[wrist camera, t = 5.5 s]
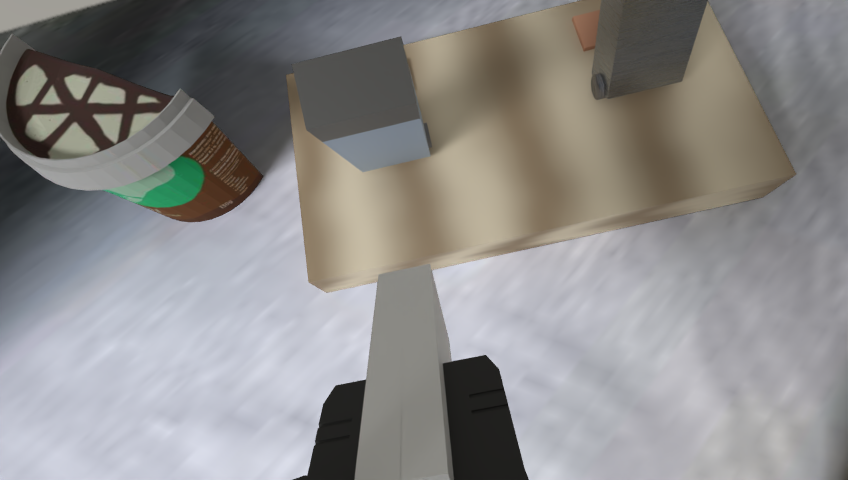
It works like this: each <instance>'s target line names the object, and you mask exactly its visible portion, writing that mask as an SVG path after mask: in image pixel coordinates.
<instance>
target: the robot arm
mask: <svg viewBox="0 0 848 480" xmlns="http://www.w3.org/2000/svg"><path fill="white" fill-rule="evenodd" d="M315 443H316V445H315V446H314V449H313V453H312V458H311V462H310V467H309V471H308V476H302V477H299V478H296V479H293V480H529V479H528V477H527V474H526V472H525V469H524V465H523V461H522V457H521V453H520V449H519V445H518V442H517V438H516V434H515V430H514V426H513V422H512V418H511V414H510V410H509V407H508V402H507V399H506V395H505V391H504V387H503V383H502V379H501V375H500V371H499V369H498V368H497V367H496V365H495V364H494V363H493V362H492V361H491V360H490V359H489V358H488V357H487V356H486V355H483V356H478V357H473V358H468V359H463V360H458V361H452V360H451V352H450V344H449V338H448V334H447V330H446V326H445V322H444V318H443V314H442V310H441V306H440V302H439V298H438V294H437V290H436V286H435V282H434V278H433V274H432V270H431V265H430V264H426V265H421V266H417V267H412V268H407V269H402V270H397V271H393V272H388V273H383V274H379V275H378V283H377V292H376V300H375V309H374V317H373V326H372V334H371V343H370V351H369V360H368V368H367V377H366V380H362V381H357V382H351V383H346V384H341V385H336V386H335V387H334V389H333V390H332V392H331V393H330V395H329V396H328V398H327V399H326V401H325V403H324V404H323V408H322V412H321V417H320V421H319V428H318V430H317V435H316V440H315Z"/></svg>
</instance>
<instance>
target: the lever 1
mask: <svg viewBox="0 0 848 480" xmlns="http://www.w3.org/2000/svg"><path fill="white" fill-rule="evenodd" d="M292 68H293V72H294V77H295V81H296V86H297V91H298V95H299V100H300V104H301V109H302V113H303V118H304V122H305V127H306V130H307V131H308V132H310V133H311V134H312V135H314V136H315V137H316V138H318V139H319V140H320V141H322V142H323V143H324V144H326V145H327V146H328V147H330V148H331V149H332V150H334V151H335V152H336V153H338V154H339V155H340V156H342V157H343V158H344V159H346V160H347V161H348V162H350V163H351V164H352V165H354V166H355V167H356V168H358V169H359V170H360V171H362V172H366V171H370V170H375V169H379V168H383V167H387V166H392V165H396V164H400V163H404V162H409V161H413V160H417V159H421V158H426V157H430V156H431V155H430V151H429V148H431V147H432V143H431V139H430V134H429V130H428V126H427V123H423V119H422V115H421V111H420V107H419V103H418V100H417V96H416V92H415V88H414V84H413V80H412V76H411V73H410V69H409V65H408V61H407V57H406V53H405V50H404V46H403V42H402V38H401V37H397V38H393V39H389V40H385V41H381V42H377V43H373V44H369V45H366V46H362V47H358V48H354V49H350V50H346V51H342V52H338V53H334V54H330V55H326V56H322V57H318V58H314V59H310V60H306V61H303V62H299V63H295V64H292Z"/></svg>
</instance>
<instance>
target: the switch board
mask: <svg viewBox="0 0 848 480" xmlns="http://www.w3.org/2000/svg"><path fill="white" fill-rule="evenodd" d="M600 5H601V0H581V1H577V2H573V3H569V4H565V5H561V6H557V7H553V8H549V9H545V10H541V11H537V12H533V13H529V14H525V15H521V16H517V17H513V18H509V19H505V20H501V21H497V22H493V23H490V24H486V25H482V26H478V27H474V28H470V29H466V30H462V31H458V32H454V33H450V34H446V35H442V36H438V37H434V38H430V39H426V40H422V41H418V42H414V43H410V44H406V45H403V46H404V50H405V53H406V57H407V61H408V65H409V69H410V73H411V76H412V80H413V84H414V88H415V92H416V96H417V100H418V103H419V107H420V111H421V115H422V119H423V123H427V126H428V130H429V134H430V139H431V143H432V147H431V148H429V151H430V155H431V156H430V157H426V158H421V159H417V160H413V161H409V162H404V163H400V164H396V165H392V166H387V167H383V168H379V169H375V170H370V171H366V172H362V171H360V170H359V169H358V168H356V167H355V166H354V165H352V164H351V163H350V162H348V161H347V160H346V159H344V158H343V157H342V156H340V155H339V154H338V153H336V152H335V151H334V150H332V149H331V148H330V147H328V146H327V145H326V144H324V143H323V142H322V141H320V140H319V139H318V138H316V137H315V136H314V135H312V134H311V133H310V132H308V131H307V130H306V127H305V122H304V118H303V113H302V109H301V104H300V100H299V95H298V91H297V86H296V81H295V77H294V73H292V74H288V75H286V79H287V88H288V98H289V107H290V116H291V125H292V134H293V144H294V153H295V162H296V171H297V180H298V190H299V199H300V208H301V217H302V226H303V235H304V245H305V254H306V263H307V272H308V281H309V283H311V284H312V285H314V286H316V287H317V288H319V289H321V290H323V291H324V292H326V293H329V292H333V291H338V290H342V289H347V288H352V287H356V286H361V285H365V284H370V283H374V282H378V275H379V274H383V273H388V272H393V271H397V270H402V269H407V268H412V267H417V266H421V265H426V264H430V265H431V270H434V269H438V268H443V267H447V266H452V265H457V264H461V263H466V262H470V261H475V260H479V259H484V258H488V257H493V256H498V255H502V254H507V253H511V252H516V251H520V250H525V249H530V248H534V247H539V246H543V245H548V244H552V243H557V242H561V241H566V240H571V239H575V238H580V237H584V236H589V235H593V234H598V233H603V232H607V231H612V230H616V229H621V228H625V227H630V226H635V225H639V224H644V223H648V222H653V221H657V220H662V219H666V218H671V217H676V216H680V215H685V214H689V213H694V212H698V211H703V210H708V209H712V208H717V207H721V206H726V205H730V204H735V203H740V202H744V201H749V200H753V199H758V198H762V197H764V196H766V195H767V194H768V193H770V192H771V191H773V190H774V189H776V188H777V187H779V186H780V185H782V184H783V183H785V182H786V181H787V180H789V179H790V178H792V177H793V176H795V175H796V173H795V171H794V169H793V167H792V165H791V163H790V161H789V159H788V157H787V155H786V153H785V151H784V149H783V147H782V145H781V143H780V141H779V139H778V137H777V135H776V134H775V132H774V130H773V128H772V126H771V124H770V122H769V120H768V118H767V116H766V114H765V112H764V110H763V108H762V106H761V104H760V102H759V100H758V98H757V96H756V94H755V92H754V91H753V89H752V87H751V85H750V83H749V81H748V79H747V77H746V75H745V73H744V71H743V69H742V67H741V65H740V63H739V61H738V59H737V57H736V55H735V53H734V51H733V49H732V48H731V46H730V44H729V42H728V40H727V38H726V36H725V34H724V32H723V30H722V28H721V26H720V24H719V22H718V20H717V18H716V16H715V14H714V12H713V10H712V8H711V6H710V4H709V3H708V1H707V5H706V8H705V11H704V14H703V17H702V20H701V23H700V27H699V30H698V33H697V36H696V39H695V42H694V45H693V49H692V52H691V55H690V58H689V61H688V64H687V68H686V71H685V74H684V77H683V80H682V82H679V83H674V84H670V85H666V86H662V87H658V88H653V89H649V90H645V91H641V92H637V93H632V94H628V95H624V96H620V97H615V98H611V99H607V98H604V99H600V100H596V99H595V98H594V96H593V94H592V89H591V78H592V67H593V59H594V51H595V44H596V36H597V28H598V21H599V13H600Z"/></svg>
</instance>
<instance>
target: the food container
mask: <svg viewBox="0 0 848 480" xmlns="http://www.w3.org/2000/svg"><path fill="white" fill-rule="evenodd" d="M214 117H215V116H214V115H212V114H211V113H210V112H209V111H208V110H207V109H205V108H204V107H203V106H202V105H201V104H200V103H198V102H197V101H196V100H195V99H193V98H190V97H189V96H188V95H187V94H186V93H185V92H184V91H183V90H182V89H179V90H178V92H177V93H176V95H175V96H170V95H166V94H163V93H160V92H157V91H154V90H151V89H148V88H145V87H143V86H140V85H137V84H135V83H132V82H129V81H127V80H124V79H122V78H119V77H117V76H114V75H112V74H109V73H107V72H104V71H101V70H99V69H95V68H92V67H88V66H83V65H79V64H75V63H71V62H68V61H65V60H62V59H59V58H56V57H53V56H50V55H47V54H44V53H40V52H37V51H36V50H34V49H33V48H31V47H30V46H29V45H27V44H26V43H24V42H23V41H22V40H20V39H19V38H17V37H16V36H15V35H13V34H11V36H10V37H9V39H8V40H7V42H6V43H5V44H4V46H3V48H2V50H1V52H0V137H1V138H2V139H3V140H4V141H5V142H6V144H7V145H8V147H9V148H10V149H11V151H12V152H13V153H15V154H16V155H17V156H18V157H19V158H20V159H21V160H23V161H24V162H25V163H26V164H28V165H29V166H30V167H32V168H33V169H34V170H35V171H37V172H38V173H39V174H40V175H42V176H43V177H44V178H46V179H48V180H50V181H52V182H54V183H55V184H58V185H61V186H64V187H67V188H71V189H78V190H87V191H91V190H105V191H107V192H110V193H112V194H114V195H117V196H119V197H122V198H124V199H126V200H129V201H131V202H134V203H136V204H138V205H141V206H143V207H146V208H148V209H150V210H153V211H155V212H158V213H160V214H162V215H165V216H167V217H170V218H172V219H175V220H179V221H184V222H201V221H206V220H210V219H213V218H216V217H219V216H221V215H223V214H225V213H227V212H229V211H231V210H232V209H234V208H235V207H236V206H238V205H239V204H241V203H242V202H243V201H244V200H245V199H246V198H247V197H248V196H249V195H250V194H251V193H252V192H253V190H254V189H255V188H256V187H257V185H258V184H259V182H260V181H261V179H262V177H263V175H262V174H261V173H260V172H259V171H258V170H257V169H256V168H255V167H254V166H253V165H252V164H251V162H250V161H249V160H248V159H247V158H246V157H245V156H244V155H243V154H242V153H241V152H240V151H239V150H238V149H237V147H236V146H235V145H234V144H233V143H232V142H231V141H230V140H229V139H228V138H227V137H226V136H225V135H224V133H223V132H222V131H221V130H220V129H219V128H218V127H217V126H216V125H215V124H214V123H213V122H212V120H213V119H214Z"/></svg>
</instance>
